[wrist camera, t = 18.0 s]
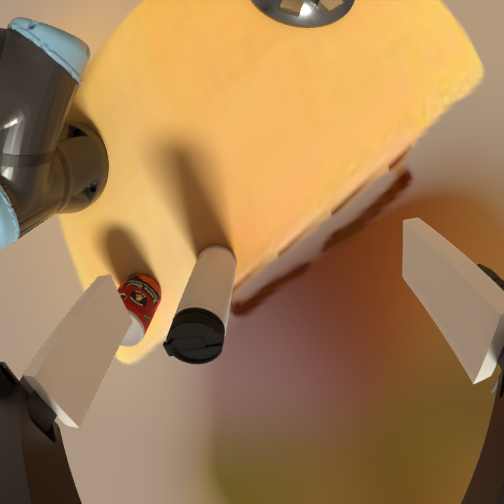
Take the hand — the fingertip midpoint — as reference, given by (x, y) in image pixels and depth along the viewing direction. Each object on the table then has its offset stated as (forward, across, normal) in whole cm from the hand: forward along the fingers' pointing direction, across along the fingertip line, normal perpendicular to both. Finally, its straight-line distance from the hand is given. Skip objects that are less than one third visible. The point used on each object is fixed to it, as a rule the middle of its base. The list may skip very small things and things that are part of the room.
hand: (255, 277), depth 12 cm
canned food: (+32, -25, -17) cm, 44 cm away
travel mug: (+32, -10, -14) cm, 36 cm away
